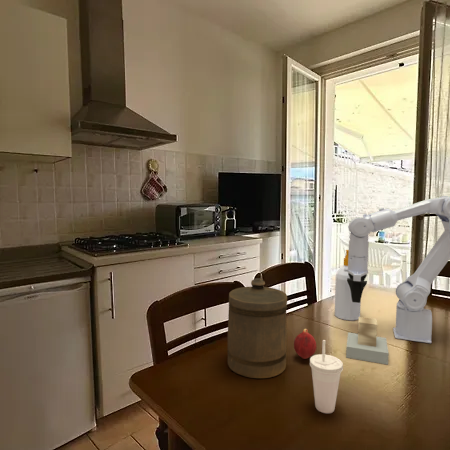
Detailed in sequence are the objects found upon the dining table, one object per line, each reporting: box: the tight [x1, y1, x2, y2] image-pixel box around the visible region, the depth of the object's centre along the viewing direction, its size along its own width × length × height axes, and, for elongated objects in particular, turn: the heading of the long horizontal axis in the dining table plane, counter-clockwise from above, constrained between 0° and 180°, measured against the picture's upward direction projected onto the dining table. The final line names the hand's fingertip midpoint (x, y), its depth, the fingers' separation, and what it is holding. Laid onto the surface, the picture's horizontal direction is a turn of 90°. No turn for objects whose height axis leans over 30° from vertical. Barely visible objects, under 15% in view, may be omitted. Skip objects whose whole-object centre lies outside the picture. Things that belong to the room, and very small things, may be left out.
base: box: [345, 332, 389, 365], centre depth 91 cm, size 10×10×3 cm
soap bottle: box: [334, 249, 362, 321], centre depth 119 cm, size 9×9×24 cm
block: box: [357, 316, 378, 347], centre depth 91 cm, size 4×4×6 cm
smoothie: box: [309, 339, 344, 414], centre depth 67 cm, size 6×6×14 cm
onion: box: [293, 328, 318, 360], centre depth 88 cm, size 6×6×8 cm
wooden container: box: [227, 277, 288, 379], centre depth 85 cm, size 15×15×22 cm
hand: (356, 298), depth 106 cm, fingers open, 7 cm apart
